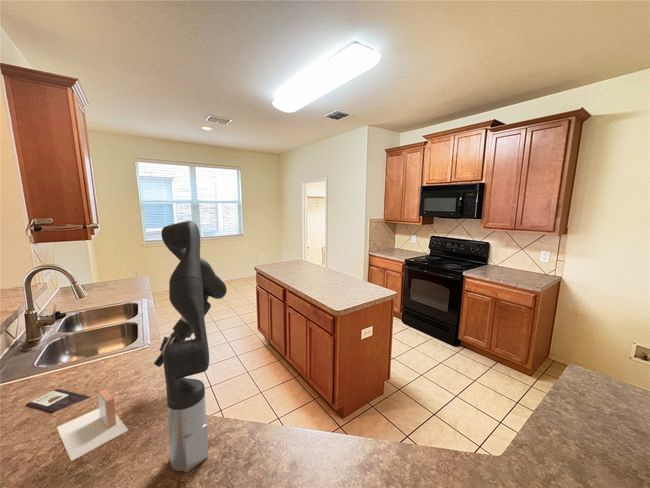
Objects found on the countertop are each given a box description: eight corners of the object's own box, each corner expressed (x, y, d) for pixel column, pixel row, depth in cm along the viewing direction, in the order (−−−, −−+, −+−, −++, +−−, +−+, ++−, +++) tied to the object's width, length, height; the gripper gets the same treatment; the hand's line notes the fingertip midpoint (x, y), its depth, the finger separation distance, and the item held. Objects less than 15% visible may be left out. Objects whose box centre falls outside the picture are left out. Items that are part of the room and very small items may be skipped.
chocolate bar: (60, 413, 88) (25, 404, 93) (60, 416, 88) (26, 406, 93) (90, 396, 97) (57, 388, 102) (90, 399, 97) (57, 391, 102)
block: (116, 424, 83) (114, 397, 82) (107, 428, 81) (105, 401, 81) (108, 413, 88) (106, 388, 87) (99, 417, 86) (97, 392, 85)
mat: (128, 432, 81) (128, 430, 81) (71, 463, 70) (71, 461, 70) (108, 406, 93) (108, 404, 92) (56, 429, 82) (56, 427, 82)
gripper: (173, 315, 106) (141, 356, 97) (189, 322, 98) (155, 367, 89) (187, 323, 111) (157, 363, 102) (203, 331, 103) (172, 375, 94)
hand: (156, 365), depth 96 cm, fingers closed
